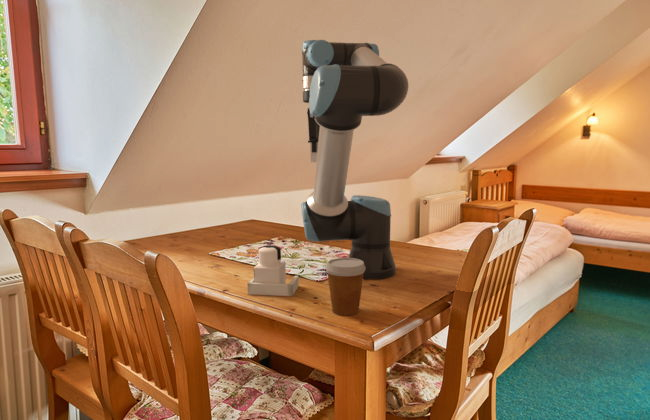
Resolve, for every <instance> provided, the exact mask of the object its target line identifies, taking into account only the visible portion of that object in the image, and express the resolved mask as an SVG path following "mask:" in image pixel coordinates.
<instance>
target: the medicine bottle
mask: <svg viewBox="0 0 650 420" xmlns="http://www.w3.org/2000/svg"><path fill="white" fill-rule="evenodd" d="M281 249H282V248H280V246H278V245H273V244H272V245H271V244H270V245H263V246H261V247H259V248H258V251H257V253H258V255H257V256H258V263H257V264H256V265H255V266H254V267H253V277H254V283H279V284H287V276H286V275H287V271H286V269H287V267H286V261H282V251H281Z"/></svg>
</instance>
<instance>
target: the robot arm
mask: <svg viewBox="0 0 650 420" xmlns="http://www.w3.org/2000/svg"><path fill="white" fill-rule="evenodd" d="M378 46H379V45H377V44H376V43H369V42H336V41H335V42H331V41H327V40H325V39H308V40H305V41H303V43H302V49H301V54H302V80H301V81H300V83H301V84H302V89H303V92H302V102H303V103H306V104H308V108H307V112H306V113H307V122H308V123H307V124H308V125H307V126H308V140H307V142H308V144H309V143H310V148H309V149H310V150H309V151H310V163H316V165H315V174H314V175H315V176H314V184H313V185H314V187H313V191H312V192H311V193H310V194H309V195H308V196H307V197H308V198H307V200H305V201H304V202H302V203H301V215H302V221H303V222H302V223H303V229H304V235H305V239H306V240H308V241H309V242H332V241H333V242H335V241H351V248H350V251H349V254H348V257H347V258H355V259H359V260H362V261H363V262H364V266H365V267H366V269H365V272H364V273H363V280H382V279H389V278H391V277H393V276H395V275H396V270H397V268H396V267H397V266H396V263H395V258H394V256H393V253H392V251H391V250H392V249H391V217H392V214H391V212H392V211H391V203H390V201H389V200H387V199H385V198H381V197H378V196H377V197H376V196H369V195H360V194H359V195H357V194H356V195H355V194H354V195H352V196H351V198H350V200H348V198H347V197H346V196H345V192H346V185H347V178H348V172H349V171H348V170H349V165H350V156H351V150H352V145H353V144H352V143H353V136H354V131H355V130H356V129H358V128H359V127H360V126H361V124H362V120H363V119H362V118H363V117H367V116H368V117H369V116H370V117H374V116H376V117H378V116H379V117H380V116H384V115H386V114H388V113H391V112H393V111H395V110H397V108H399V106H401V105H402V103H403V102H404V101H405V99H406V97H407V96H408V95H407V94H408V92H409V80H408V78H407V75H406V74H405V72H404V71H403V70H402V69H401V68H400V67H399V66H398V65H395V64H393V63H387V61H385V60H384V59H383V58H381V56H380V48H379V47H378Z"/></svg>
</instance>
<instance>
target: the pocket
mask: <svg viewBox="0 0 650 420" xmlns="http://www.w3.org/2000/svg"><path fill="white" fill-rule="evenodd" d="M299 281H300V277H299V275H294V276H293V278H292V279H291V281H290V282H289V283H286V284H279V283H254V276H252V278H251V279H250V280H249V281H248V282H247V286H246V287H247V295H252V296H253V295H254V296H255V295H256V296H257V295H258V296H276V297H277V296H279V297H293V296H294V294H295V292H296V291H297V289H298V287H299V286H300V285H299V284H300V283H299Z"/></svg>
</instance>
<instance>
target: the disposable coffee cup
mask: <svg viewBox="0 0 650 420" xmlns="http://www.w3.org/2000/svg"><path fill="white" fill-rule="evenodd" d="M324 268H325V270H326V273H327V279H328V280H327V281H328V286H329V287H328V288H329V294H330V302H331V311H332V313H333V314H335V315H339V316H353V315H356V314H358V313H359V312H360V311H359V309H360V303H361V295H362V289H363V287H362V286H363V280H364V279H363V273H364V272H365V269H366V267H365V266H364V262H363V261H362V260H359V259H355V258H348V257H338V258H337V257H336V258H332V259H329V260H328V261H327V263H326V266H325V267H324Z"/></svg>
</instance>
